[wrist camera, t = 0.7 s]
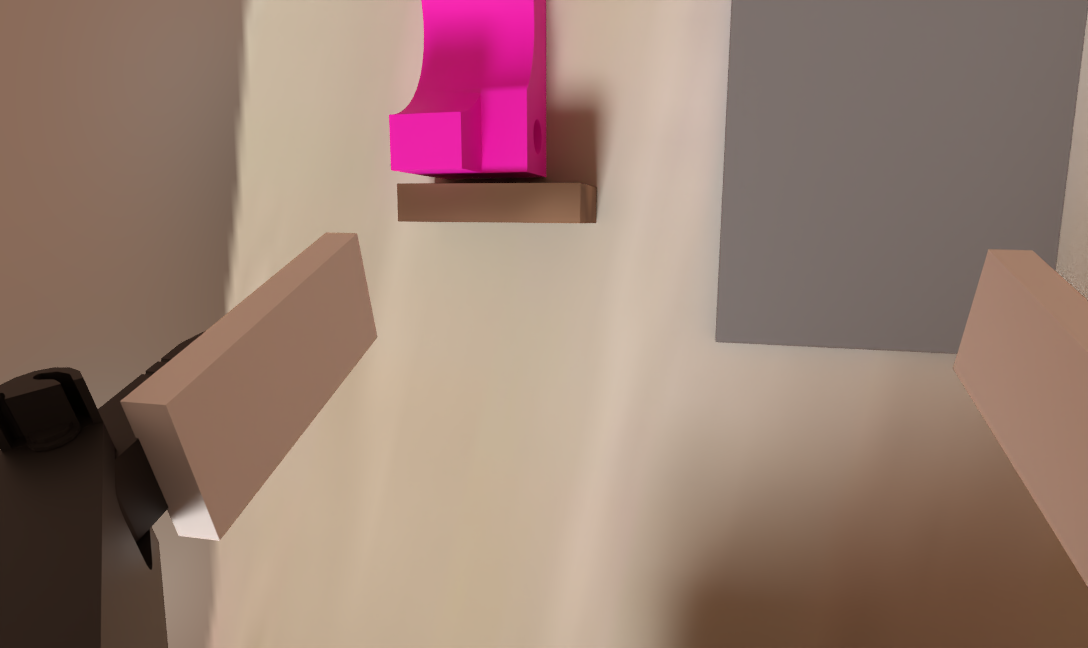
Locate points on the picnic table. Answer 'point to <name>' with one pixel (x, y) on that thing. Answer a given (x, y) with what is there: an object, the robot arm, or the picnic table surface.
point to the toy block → (477, 93)
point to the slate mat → (888, 163)
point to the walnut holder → (497, 202)
